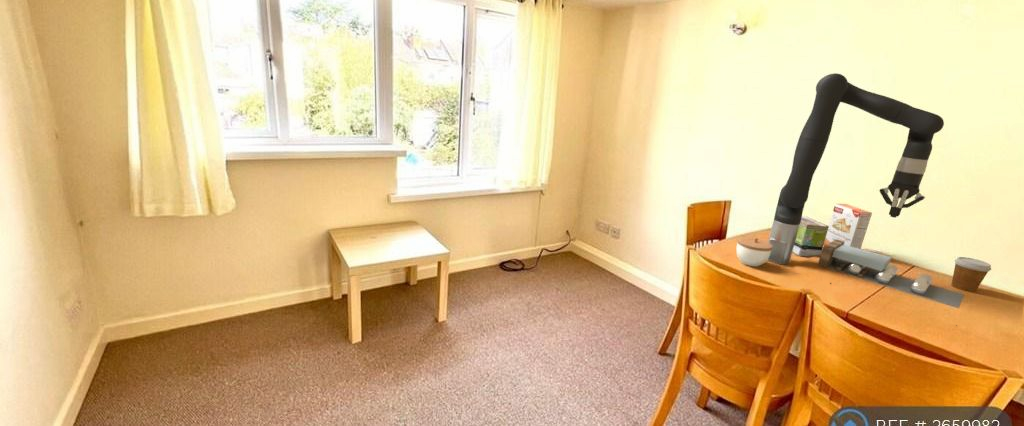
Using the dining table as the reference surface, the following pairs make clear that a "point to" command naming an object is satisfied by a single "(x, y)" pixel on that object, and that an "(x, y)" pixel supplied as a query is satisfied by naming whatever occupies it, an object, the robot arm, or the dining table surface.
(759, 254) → the lidded bowl
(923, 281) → the bed rollers
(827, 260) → the wooden stops
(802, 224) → the tea box
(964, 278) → the disposable coffee cup
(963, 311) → the dining table surface
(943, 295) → the mat
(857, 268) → the roller
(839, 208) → the cracker box
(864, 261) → the slab
